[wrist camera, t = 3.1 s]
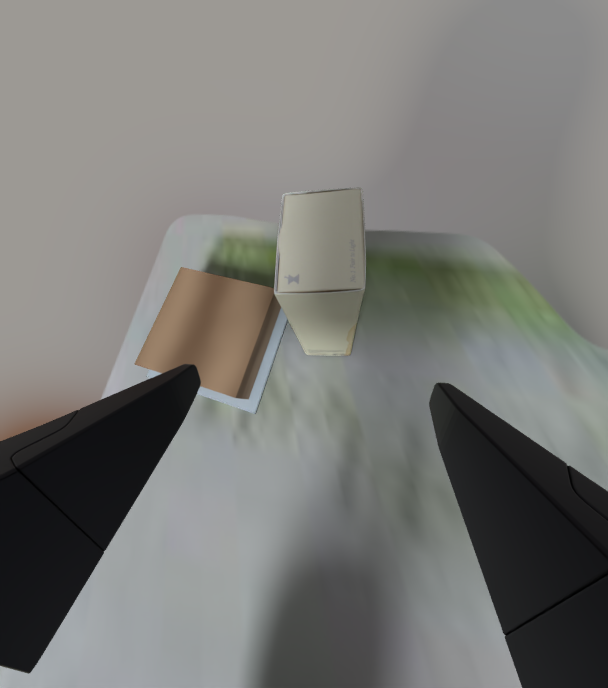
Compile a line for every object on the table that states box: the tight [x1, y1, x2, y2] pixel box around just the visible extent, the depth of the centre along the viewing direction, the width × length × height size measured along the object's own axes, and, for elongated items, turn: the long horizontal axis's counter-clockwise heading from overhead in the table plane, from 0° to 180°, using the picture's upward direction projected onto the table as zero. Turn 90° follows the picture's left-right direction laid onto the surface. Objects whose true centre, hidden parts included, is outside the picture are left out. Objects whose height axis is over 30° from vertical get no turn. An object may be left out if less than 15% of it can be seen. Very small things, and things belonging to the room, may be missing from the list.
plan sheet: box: [146, 308, 288, 414], centre depth 24 cm, size 12×12×1 cm
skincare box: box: [274, 188, 366, 356], centre depth 17 cm, size 6×4×12 cm
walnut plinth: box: [135, 267, 281, 400], centre depth 22 cm, size 10×10×3 cm
